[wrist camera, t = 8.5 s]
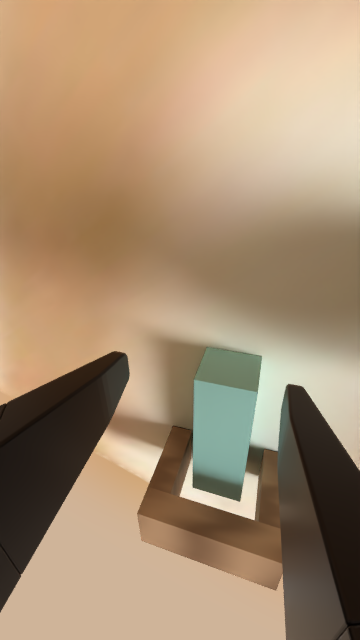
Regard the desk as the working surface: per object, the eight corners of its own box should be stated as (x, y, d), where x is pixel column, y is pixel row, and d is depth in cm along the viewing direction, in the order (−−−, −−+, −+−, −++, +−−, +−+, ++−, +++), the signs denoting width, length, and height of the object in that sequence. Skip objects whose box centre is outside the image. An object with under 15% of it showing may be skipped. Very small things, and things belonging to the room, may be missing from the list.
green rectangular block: (262, 354, 21) (257, 392, 18) (245, 458, 27) (240, 501, 24) (207, 345, 22) (194, 379, 19) (203, 447, 28) (192, 487, 25)
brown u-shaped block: (286, 454, 25) (285, 564, 18) (278, 482, 27) (276, 590, 20) (173, 425, 28) (137, 513, 21) (174, 453, 30) (141, 540, 23)
